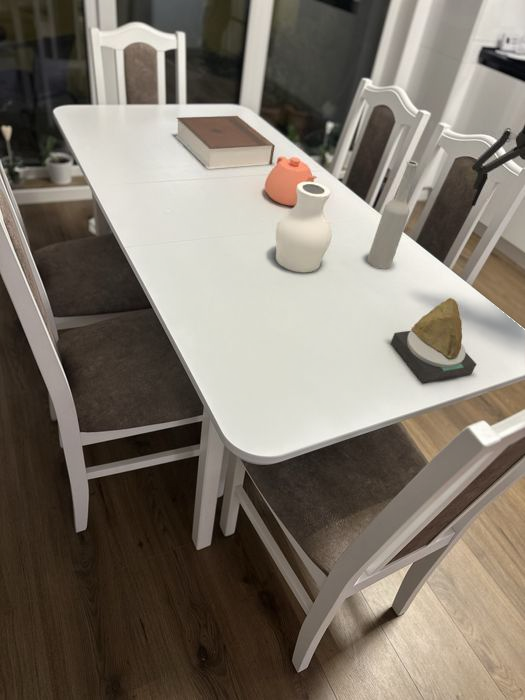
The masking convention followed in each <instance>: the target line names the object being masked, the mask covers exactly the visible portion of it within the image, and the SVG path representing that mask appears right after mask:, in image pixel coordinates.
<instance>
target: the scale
mask: <svg viewBox="0 0 525 700" xmlns="http://www.w3.org/2000/svg"><path fill="white" fill-rule="evenodd" d="M391 338H392V339H391V341H390V344H391V345H392V347H393V348H394V349H395V351H396V352H397V353H398V354H399V356H400V357H401V358H402V359H403V361H404V362H405V363H406V364H407V366H408V367H409V368H410V369H411V371H412V372H413V373H414V375H415V376H416V377H417V379H418V380H419V381H420V382H421V383H422V384H425V383H431V382H435V381H440V380H445V379H447V380H448V379H453V378H458V377H463V376H467V375H468V376H469V375H472V373H473V372H474V370H475V368H476V366H477V365H478V364H477V363H476V361H475V360H474V359H472V358H471V356H470V355H469V354H468V352H466V349H465V346H464V345H463V343H462V342H461V350H460V351H459V354H458V356H457V357H456V358H451V359H450V358H448V357H447V356H445V355H444V354H443V353H442V352H440V351H438V350H436V349H435V348H433V347H431V346H430V345H428V344H426V343H425V342H424V341H422V340H421V339H420V338H419V337H418V335H417V334H416V333H415V332H414V331H412V330H411V329H410V330H406V331H398V332H394V333H393V336H392V337H391Z"/></svg>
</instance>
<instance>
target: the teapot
mask: <svg viewBox="0 0 525 700" xmlns="http://www.w3.org/2000/svg"><path fill="white" fill-rule="evenodd" d="M317 177H318V176H316V175H313V173H312V171H311V168H310V166H309V165H308V164H307V163H306V162H304V161H301V159H300V158H299V157H294V156H293V157H289V158H287V157H286V156H282V155H281V156H279V157H278V158H277V159H276V165H274V166H273V168H272V169H271V170H270V172H269V173H268V175H267V177H266V179H265V183H264V190H265V192H266V194H267V195H268V196H269V197H270V199H272V201H274V202H276V203H278V204H280V205H281V204H282V205H285V206H293V207H295V205H296V203H297V192H296V188H297V185H298V184H299V183H302V182H315V179H317Z"/></svg>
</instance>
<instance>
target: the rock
mask: <svg viewBox="0 0 525 700" xmlns="http://www.w3.org/2000/svg"><path fill="white" fill-rule="evenodd" d="M411 330H412V331H414V332H415V333H416V334H417V335H418V337H419V338H420V339H421V340H422V341H424V342H425V343H426V344H428V345H430V346H431V347H433V348H435V349H436V350H438V351H440V352H442V353H443V354H444V355H445V356H447V357H448V358H450V359H451V358H456V357H457V356H458V354H459V351H460V350H461V343H462V340H463V321H462V319H461V314H460V309H459V304H458V303H457V301H456V300H455V299H454V298H452V297H449V298H447V299H446V300H444V301H442V302H441V303H440V304H438V305H436V306H434V308H433V309H432V310H430V311H429V312H428V313H426V314H425V315H423V316H422V317H421V318H420V319H419V320H418V321H417V322H416V323H414V326H412V327H411V329H410V331H411Z"/></svg>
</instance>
